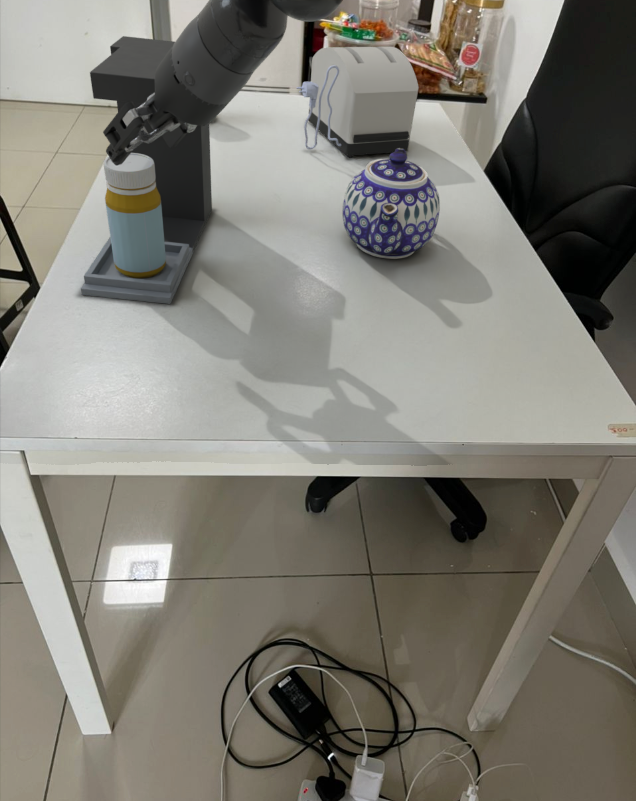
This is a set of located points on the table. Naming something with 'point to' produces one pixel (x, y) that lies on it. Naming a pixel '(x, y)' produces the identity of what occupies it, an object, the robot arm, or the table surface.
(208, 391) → the table surface
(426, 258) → the table surface
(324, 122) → the toaster
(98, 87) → the coffee maker
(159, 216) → the bottle
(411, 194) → the teapot
